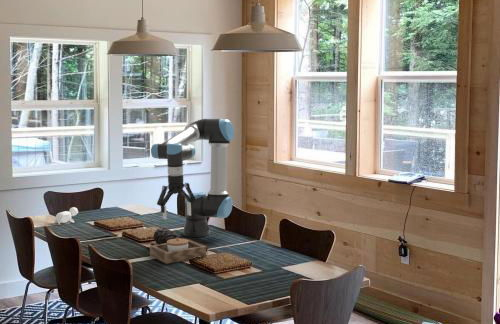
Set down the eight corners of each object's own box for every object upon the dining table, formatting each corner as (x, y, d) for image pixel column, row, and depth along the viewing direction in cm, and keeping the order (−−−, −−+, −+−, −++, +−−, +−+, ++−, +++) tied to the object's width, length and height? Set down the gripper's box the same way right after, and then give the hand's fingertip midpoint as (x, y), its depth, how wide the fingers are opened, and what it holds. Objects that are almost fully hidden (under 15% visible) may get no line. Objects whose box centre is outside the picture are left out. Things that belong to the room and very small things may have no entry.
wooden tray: (188, 248, 377) (188, 239, 376) (206, 256, 362) (205, 246, 361) (150, 255, 365) (149, 245, 364) (166, 263, 350) (166, 253, 349)
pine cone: (170, 252, 371) (170, 233, 370) (150, 246, 384) (149, 227, 382) (186, 248, 378) (186, 229, 377) (165, 242, 391) (165, 224, 390)
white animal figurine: (62, 229, 438) (83, 217, 446) (57, 217, 435) (78, 205, 443) (56, 227, 444) (76, 215, 452) (50, 215, 441) (71, 203, 449)
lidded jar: (178, 252, 371) (177, 234, 369) (193, 255, 364) (192, 237, 363) (162, 256, 363) (162, 238, 361) (178, 260, 356) (177, 241, 354)
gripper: (155, 178, 348) (157, 222, 351) (201, 172, 361) (202, 214, 364) (149, 176, 354) (150, 219, 357) (194, 171, 367) (195, 212, 371)
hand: (177, 217), depth 361 cm, fingers open, 13 cm apart
